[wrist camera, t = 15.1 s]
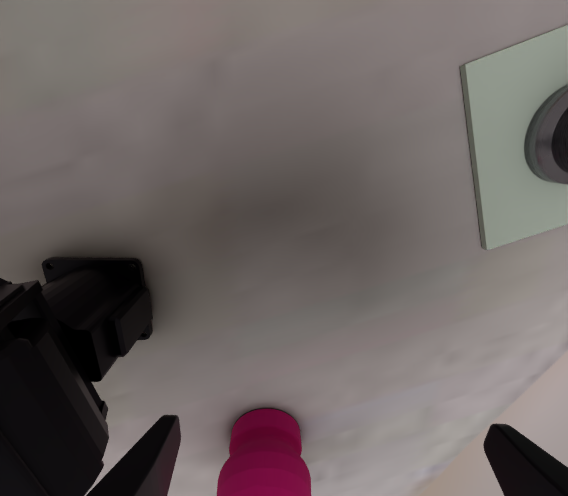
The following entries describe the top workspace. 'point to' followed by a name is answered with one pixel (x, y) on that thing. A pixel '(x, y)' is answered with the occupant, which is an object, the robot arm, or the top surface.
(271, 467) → the pepper mill
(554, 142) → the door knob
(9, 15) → the top surface
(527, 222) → the rubber mat
